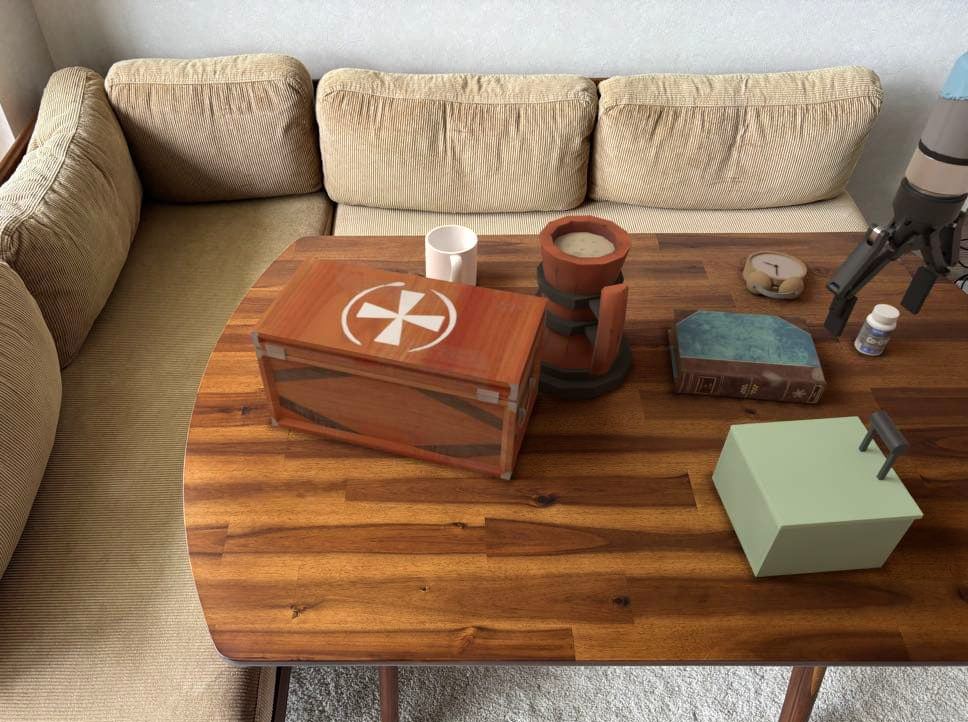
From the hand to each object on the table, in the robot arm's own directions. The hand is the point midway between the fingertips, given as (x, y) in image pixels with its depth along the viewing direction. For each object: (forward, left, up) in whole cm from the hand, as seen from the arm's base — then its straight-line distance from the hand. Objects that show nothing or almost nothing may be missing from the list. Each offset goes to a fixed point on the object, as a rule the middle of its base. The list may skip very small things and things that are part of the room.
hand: (870, 319), depth 110 cm
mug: (+71, 0, -21) cm, 74 cm away
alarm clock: (+18, -34, -21) cm, 44 cm away
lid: (-2, +22, -10) cm, 24 cm away
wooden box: (+59, +33, -21) cm, 71 cm away
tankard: (+41, +8, -21) cm, 47 cm away
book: (+16, -7, -21) cm, 27 cm away
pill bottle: (-2, -24, -21) cm, 32 cm away
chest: (-1, +22, -21) cm, 31 cm away
